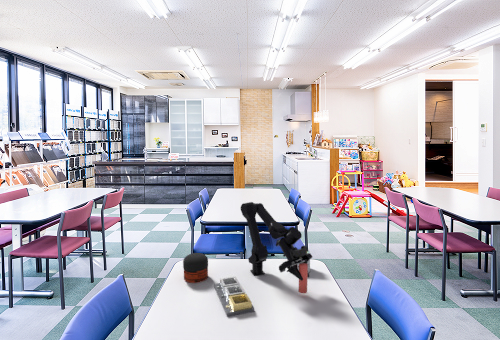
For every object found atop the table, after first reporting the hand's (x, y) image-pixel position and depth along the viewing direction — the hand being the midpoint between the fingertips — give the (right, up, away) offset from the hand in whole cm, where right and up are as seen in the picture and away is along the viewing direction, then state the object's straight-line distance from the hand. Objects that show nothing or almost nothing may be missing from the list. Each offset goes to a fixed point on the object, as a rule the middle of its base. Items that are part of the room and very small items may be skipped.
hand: (305, 278), depth 144 cm
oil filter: (-55, -7, +21) cm, 59 cm away
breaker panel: (-34, -9, 0) cm, 35 cm away
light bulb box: (+2, -6, +30) cm, 31 cm away
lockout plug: (-1, -6, +2) cm, 7 cm away
